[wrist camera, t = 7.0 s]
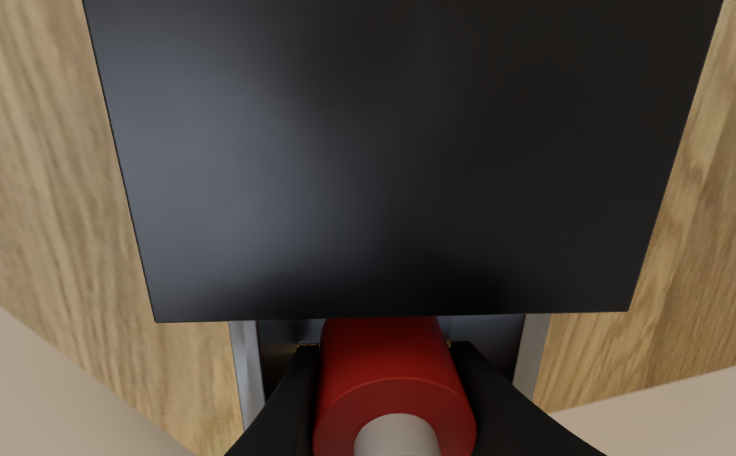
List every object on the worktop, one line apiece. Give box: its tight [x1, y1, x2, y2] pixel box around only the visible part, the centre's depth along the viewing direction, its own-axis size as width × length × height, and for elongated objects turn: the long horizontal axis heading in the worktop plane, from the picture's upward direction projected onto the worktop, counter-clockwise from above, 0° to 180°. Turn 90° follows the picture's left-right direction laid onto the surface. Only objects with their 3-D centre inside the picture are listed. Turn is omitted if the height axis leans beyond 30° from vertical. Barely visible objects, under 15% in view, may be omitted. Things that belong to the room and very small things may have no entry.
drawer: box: [228, 314, 551, 432], centre depth 16 cm, size 17×10×8 cm, turn 179°
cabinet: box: [82, 0, 724, 323], centre depth 11 cm, size 14×12×10 cm
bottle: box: [312, 316, 477, 456], centre depth 12 cm, size 4×4×6 cm
